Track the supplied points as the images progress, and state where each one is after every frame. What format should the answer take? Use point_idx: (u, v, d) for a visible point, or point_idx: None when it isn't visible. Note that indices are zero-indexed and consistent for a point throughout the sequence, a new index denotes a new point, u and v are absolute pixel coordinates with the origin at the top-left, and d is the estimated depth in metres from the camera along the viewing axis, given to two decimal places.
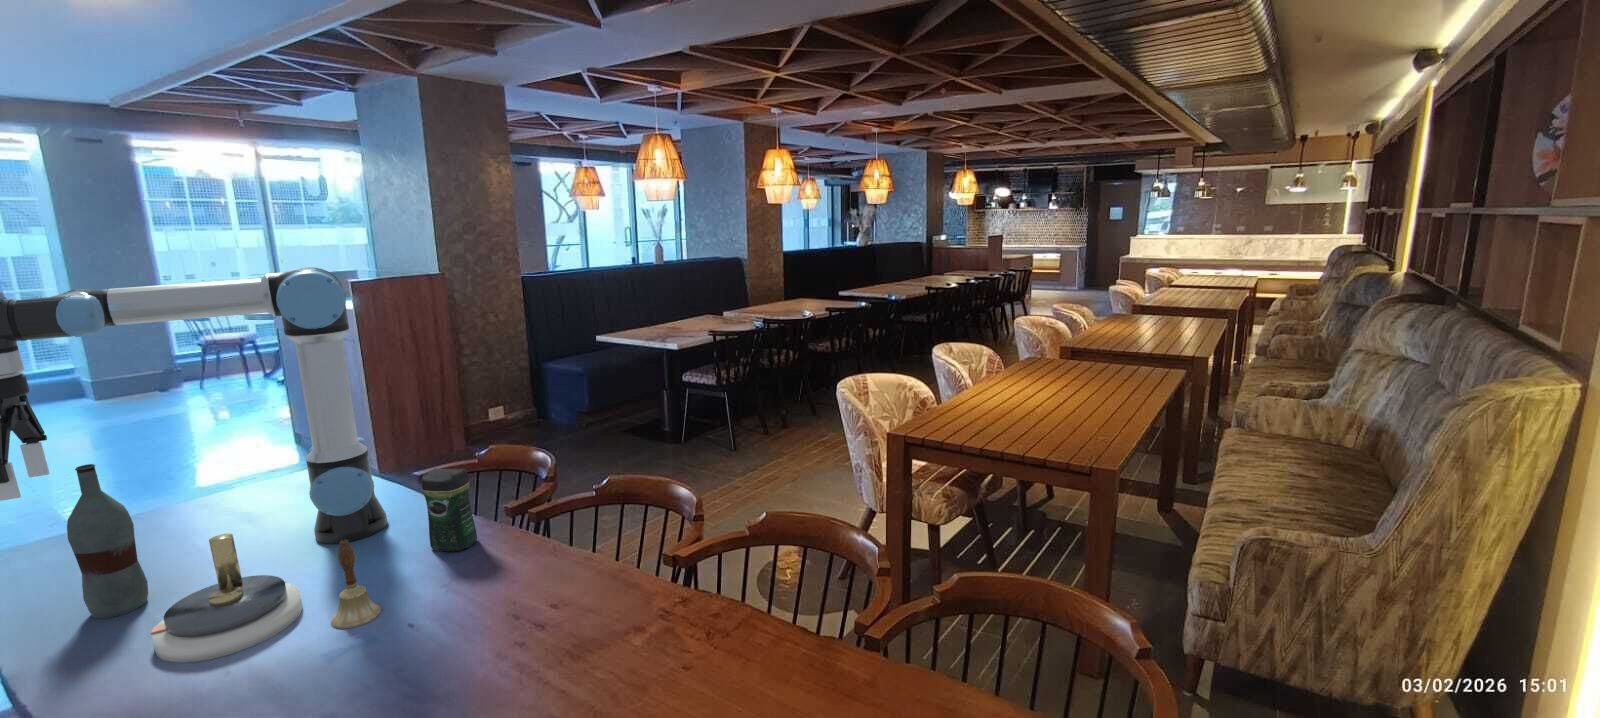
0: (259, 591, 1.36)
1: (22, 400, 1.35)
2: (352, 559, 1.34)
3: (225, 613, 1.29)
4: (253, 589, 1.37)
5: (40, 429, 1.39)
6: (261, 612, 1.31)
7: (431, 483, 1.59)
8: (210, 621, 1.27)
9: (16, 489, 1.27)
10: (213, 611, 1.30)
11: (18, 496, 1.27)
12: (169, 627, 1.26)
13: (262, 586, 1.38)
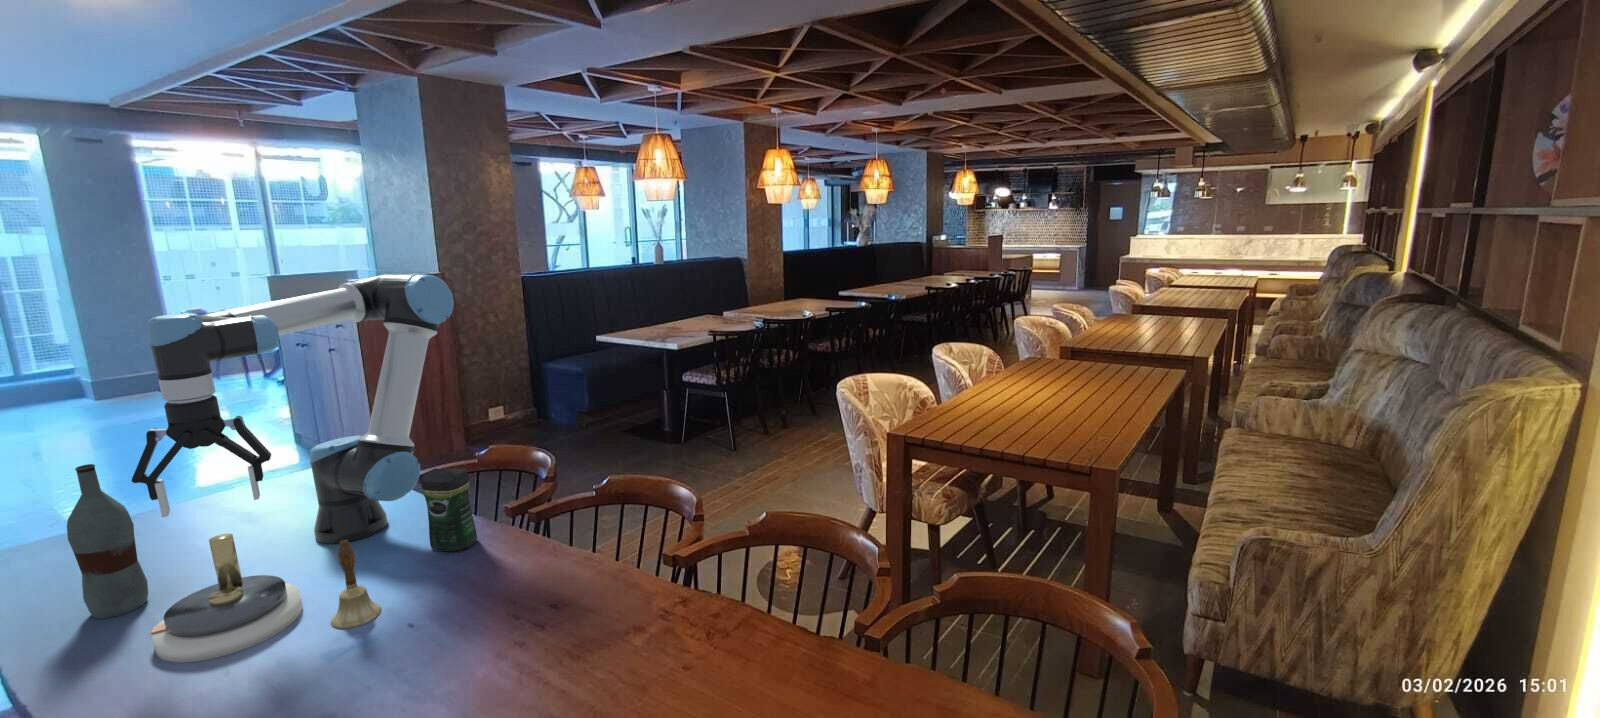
0: (259, 591, 1.36)
1: None
2: (352, 559, 1.34)
3: (225, 613, 1.29)
4: (253, 589, 1.37)
5: (262, 454, 1.38)
6: (261, 612, 1.31)
7: (431, 483, 1.59)
8: (210, 621, 1.27)
9: (160, 509, 1.30)
10: (213, 611, 1.30)
11: (162, 516, 1.31)
12: (169, 627, 1.26)
13: (262, 586, 1.38)
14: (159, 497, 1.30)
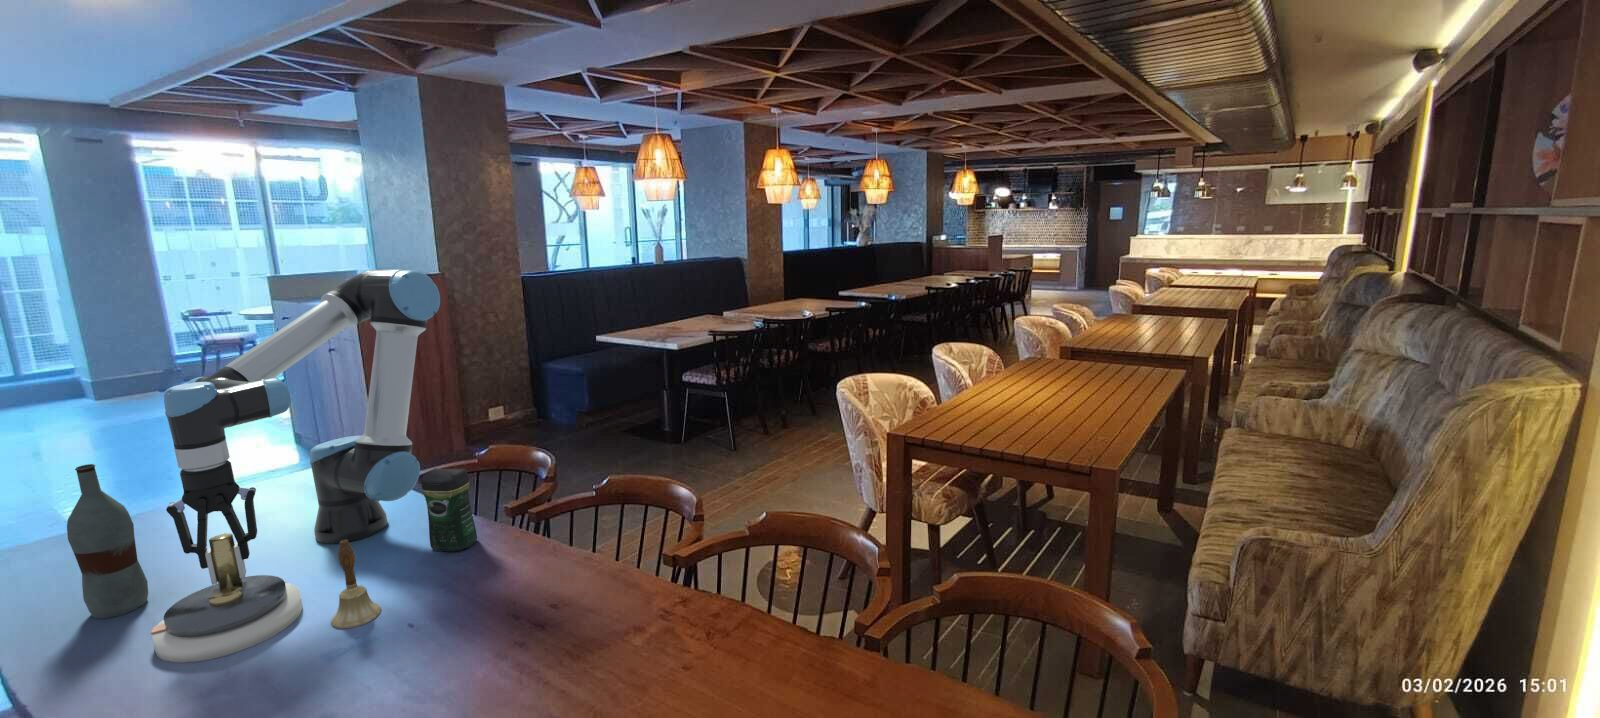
0: (259, 591, 1.36)
1: (246, 495, 1.38)
2: (352, 559, 1.34)
3: (225, 613, 1.29)
4: (253, 589, 1.37)
5: (251, 532, 1.39)
6: (261, 612, 1.31)
7: (431, 483, 1.59)
8: (211, 621, 1.27)
9: (210, 577, 1.36)
10: (213, 611, 1.30)
11: (212, 583, 1.36)
12: (169, 627, 1.26)
13: (262, 586, 1.38)
14: (209, 566, 1.36)
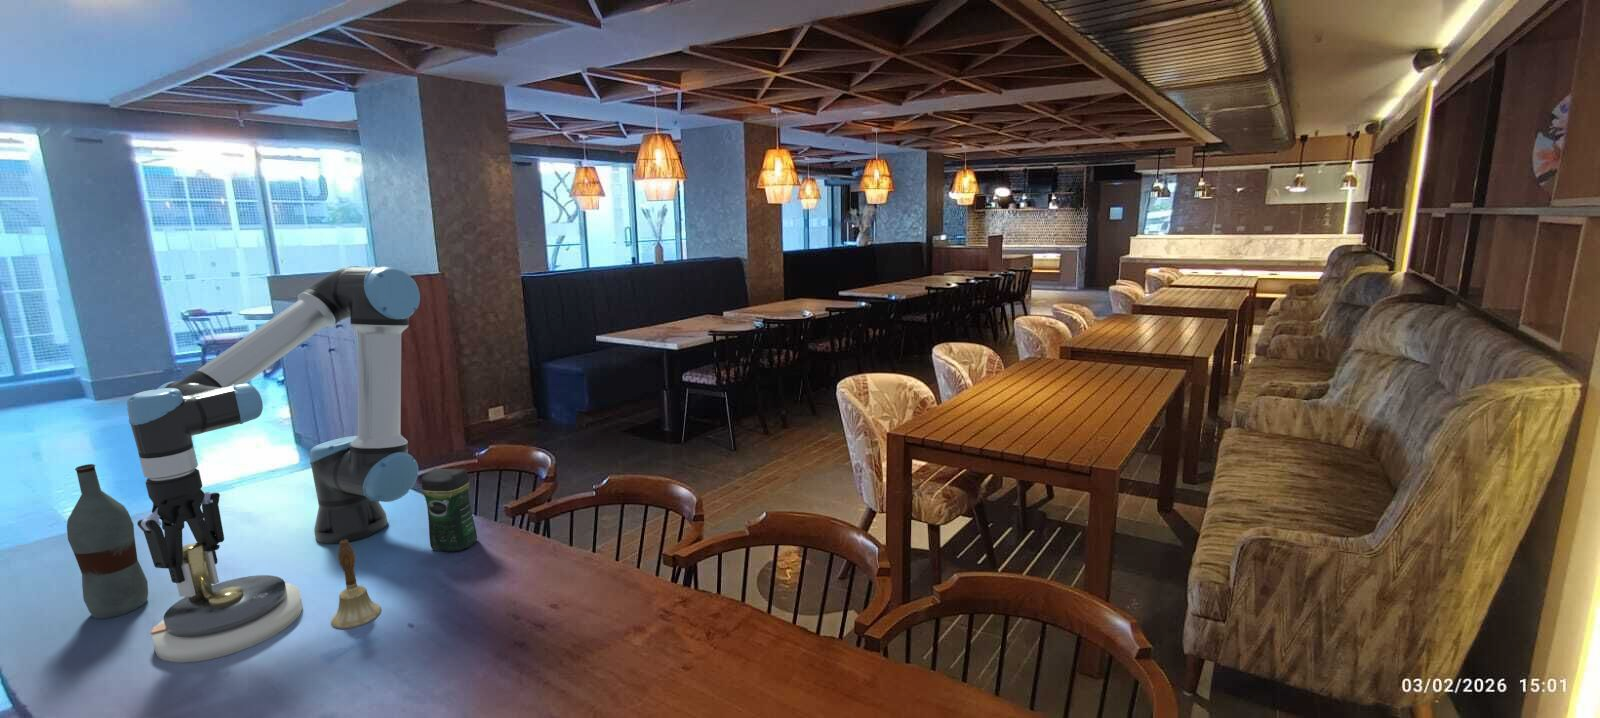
0: (253, 585, 1.39)
1: (211, 498, 1.36)
2: (352, 559, 1.34)
3: (252, 602, 1.33)
4: (241, 587, 1.38)
5: (220, 534, 1.38)
6: (284, 593, 1.38)
7: (431, 483, 1.59)
8: (250, 608, 1.30)
9: (189, 589, 1.32)
10: (234, 606, 1.31)
11: (191, 595, 1.32)
12: (203, 628, 1.26)
13: (245, 583, 1.39)
14: (188, 577, 1.32)
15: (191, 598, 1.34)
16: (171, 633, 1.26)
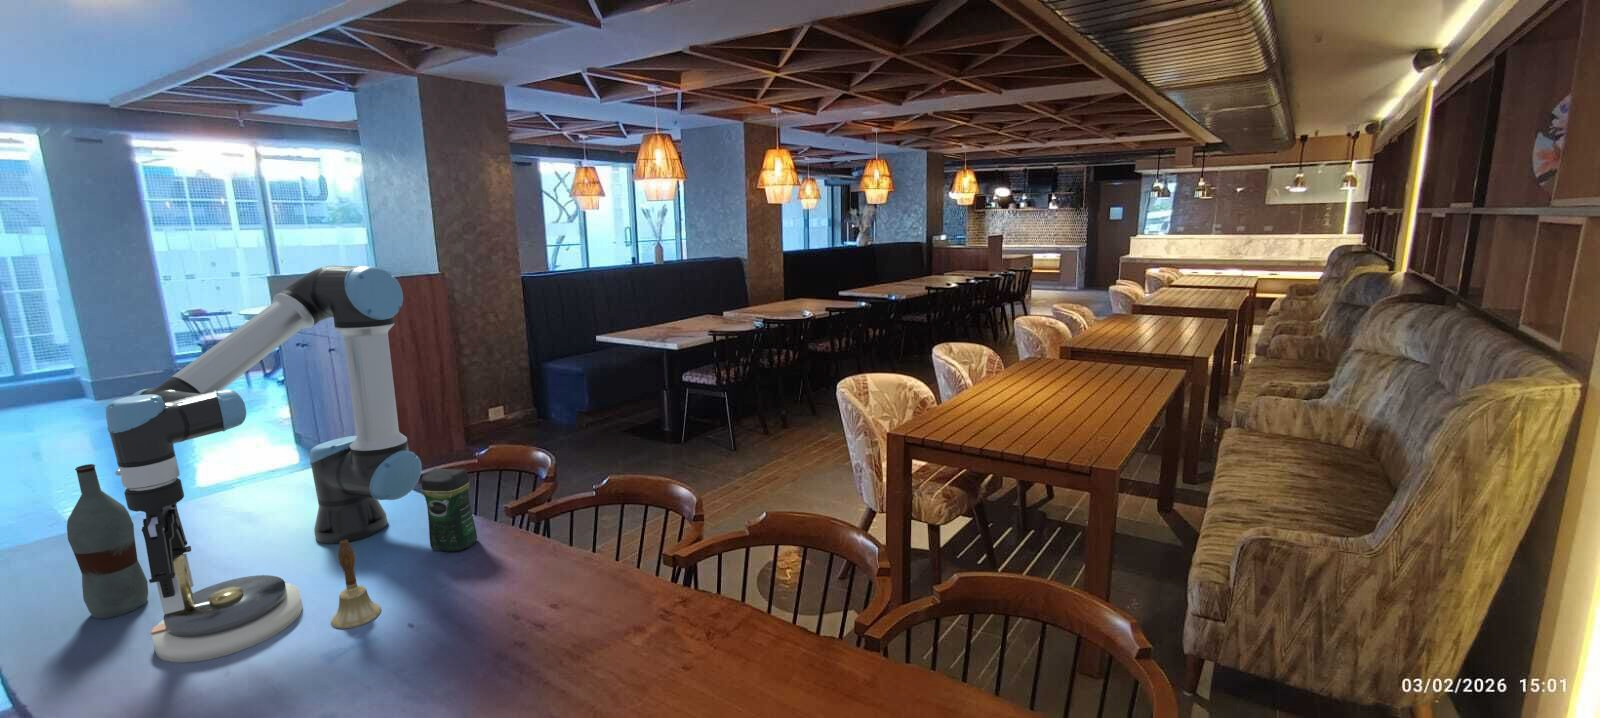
0: None
1: (172, 506, 1.32)
2: (352, 559, 1.34)
3: (265, 589, 1.37)
4: None
5: (184, 538, 1.35)
6: None
7: (431, 483, 1.59)
8: (275, 591, 1.36)
9: (182, 601, 1.26)
10: (250, 597, 1.34)
11: (183, 608, 1.26)
12: (251, 614, 1.30)
13: (218, 590, 1.37)
14: (179, 589, 1.26)
15: (181, 611, 1.29)
16: (208, 633, 1.26)
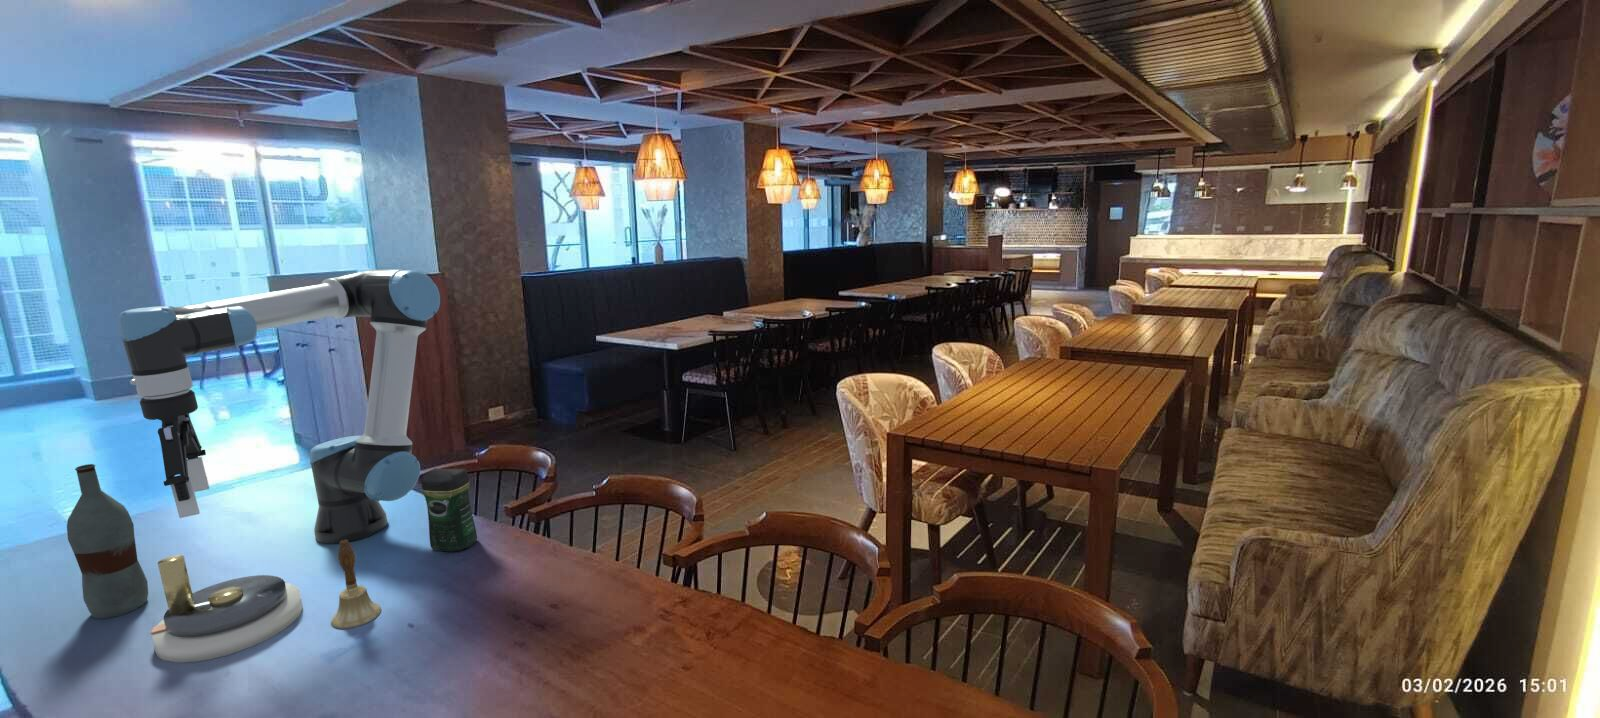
0: None
1: (185, 416, 1.34)
2: (352, 559, 1.34)
3: (265, 589, 1.37)
4: None
5: (199, 443, 1.39)
6: None
7: (431, 483, 1.59)
8: (275, 591, 1.36)
9: (196, 505, 1.27)
10: (250, 597, 1.34)
11: (198, 512, 1.28)
12: (251, 614, 1.30)
13: (218, 590, 1.37)
14: (194, 493, 1.27)
15: (181, 611, 1.29)
16: (208, 633, 1.26)
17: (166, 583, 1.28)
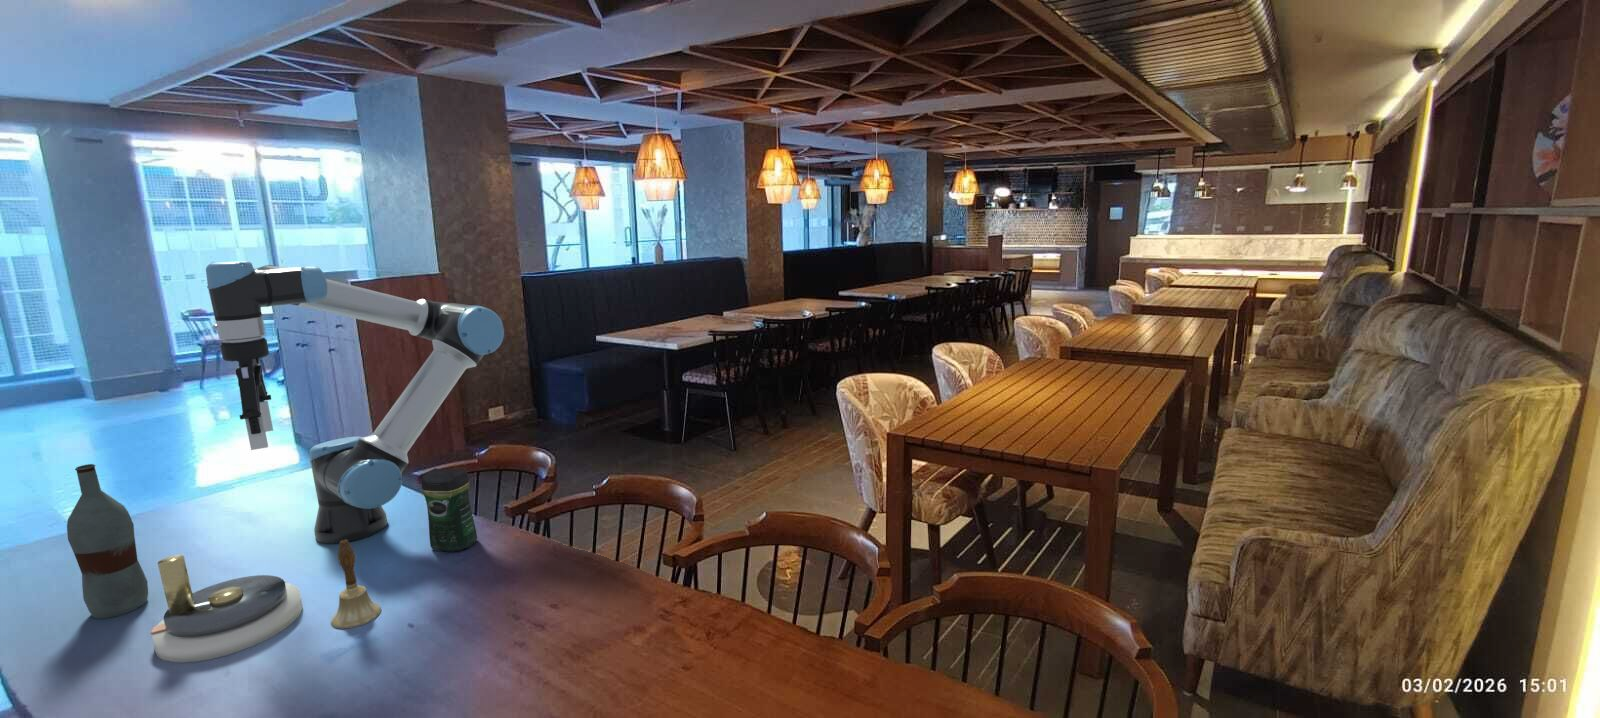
0: None
1: (256, 362, 1.49)
2: (352, 559, 1.34)
3: (265, 589, 1.37)
4: None
5: (265, 389, 1.54)
6: None
7: (431, 483, 1.59)
8: (275, 591, 1.36)
9: (266, 439, 1.42)
10: (250, 597, 1.34)
11: (267, 446, 1.42)
12: (251, 614, 1.30)
13: (218, 590, 1.37)
14: (264, 428, 1.42)
15: (181, 611, 1.29)
16: (208, 633, 1.26)
17: (166, 583, 1.28)
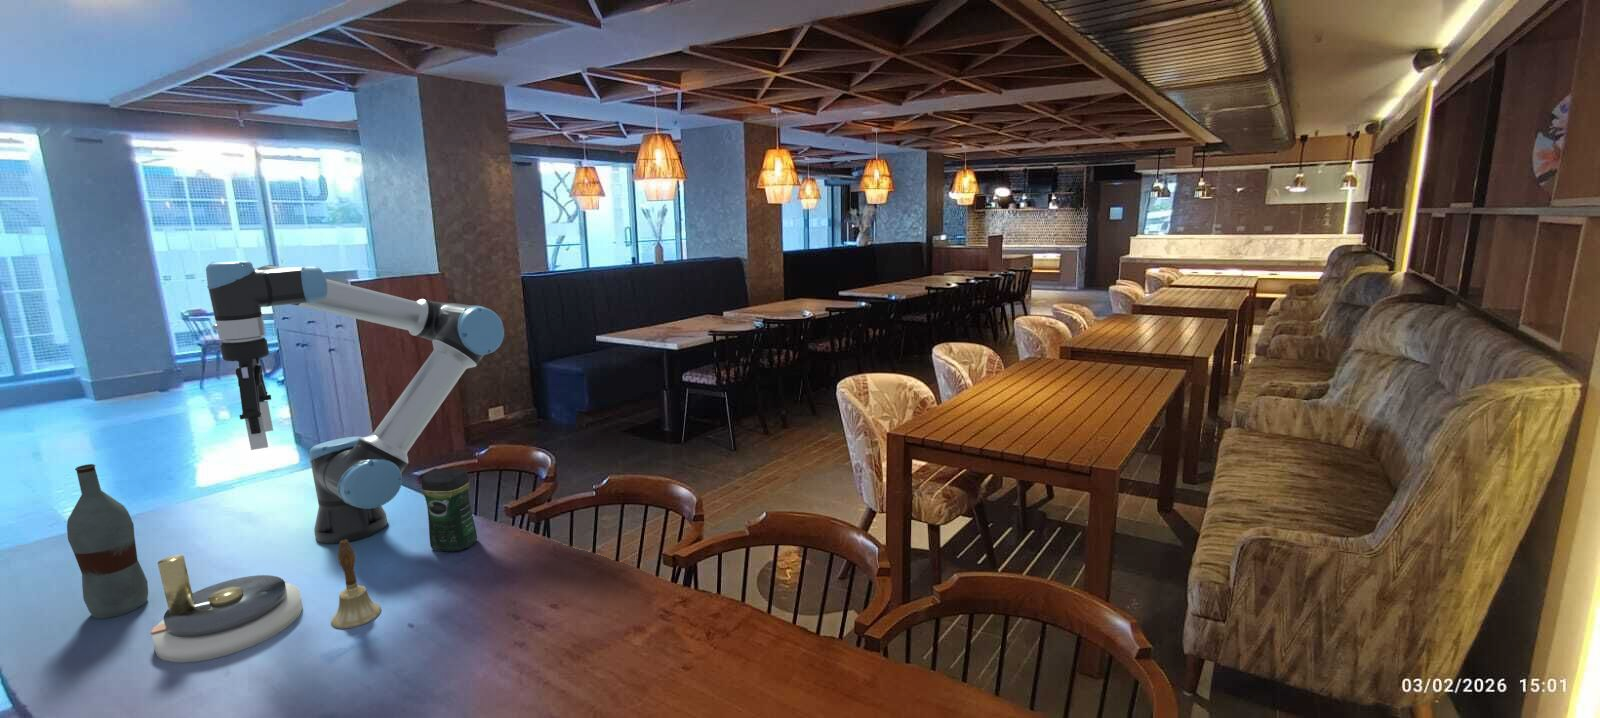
0: None
1: (256, 362, 1.49)
2: (352, 559, 1.34)
3: (265, 589, 1.37)
4: None
5: (265, 389, 1.54)
6: None
7: (431, 483, 1.59)
8: (275, 591, 1.36)
9: (266, 439, 1.42)
10: (250, 597, 1.34)
11: (267, 446, 1.42)
12: (251, 614, 1.30)
13: (218, 590, 1.37)
14: (264, 428, 1.42)
15: (181, 611, 1.29)
16: (208, 633, 1.26)
17: (166, 583, 1.28)
